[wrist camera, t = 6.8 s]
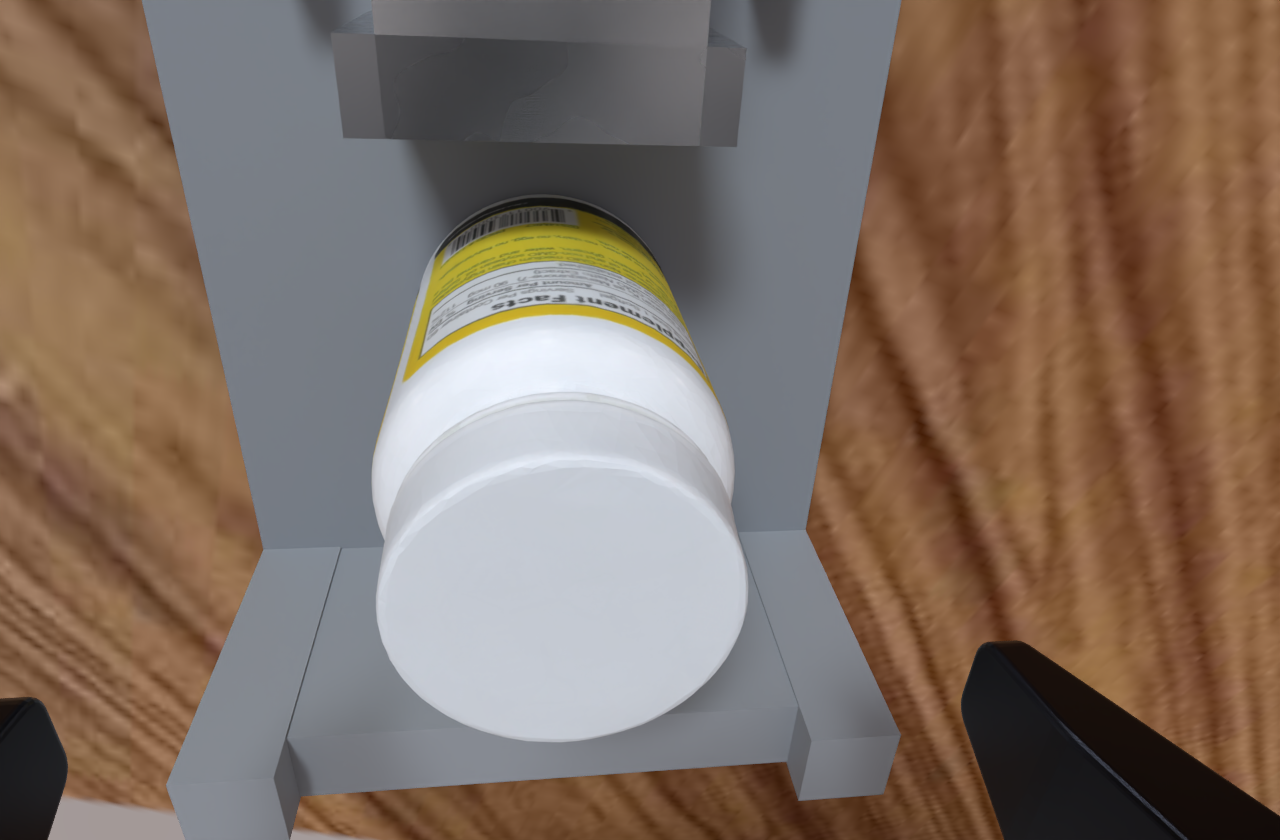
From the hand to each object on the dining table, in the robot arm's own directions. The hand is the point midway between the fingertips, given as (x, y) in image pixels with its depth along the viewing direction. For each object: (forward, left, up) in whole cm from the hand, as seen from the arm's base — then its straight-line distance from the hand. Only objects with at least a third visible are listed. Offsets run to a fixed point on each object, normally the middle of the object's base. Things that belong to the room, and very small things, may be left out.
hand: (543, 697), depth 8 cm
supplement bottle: (0, 0, -10) cm, 10 cm away
